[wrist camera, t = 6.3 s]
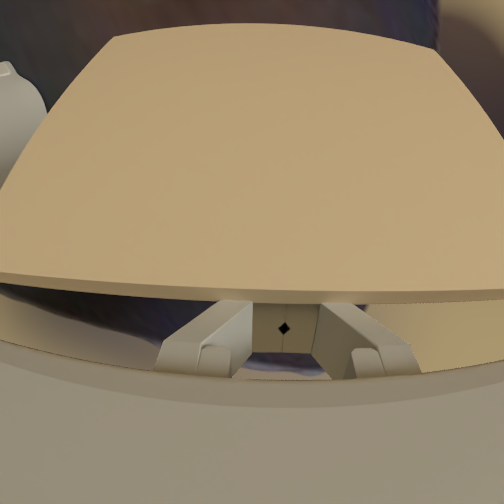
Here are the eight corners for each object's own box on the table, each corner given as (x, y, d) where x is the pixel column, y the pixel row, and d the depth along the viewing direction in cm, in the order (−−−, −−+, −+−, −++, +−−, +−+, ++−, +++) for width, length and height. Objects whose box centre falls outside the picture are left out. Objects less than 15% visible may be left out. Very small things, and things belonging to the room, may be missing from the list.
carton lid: (-21, 279, 8) (-35, 267, 7) (115, 47, 16) (113, 37, 15) (555, 294, 7) (569, 285, 7) (431, 59, 15) (434, 49, 15)
